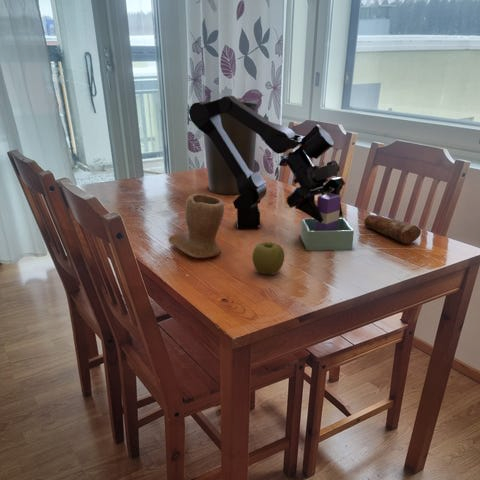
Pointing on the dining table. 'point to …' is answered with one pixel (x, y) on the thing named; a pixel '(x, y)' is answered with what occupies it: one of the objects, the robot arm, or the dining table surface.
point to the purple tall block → (328, 212)
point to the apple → (268, 257)
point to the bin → (326, 236)
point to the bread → (393, 228)
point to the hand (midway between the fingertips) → (331, 218)
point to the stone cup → (200, 227)
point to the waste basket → (244, 144)
